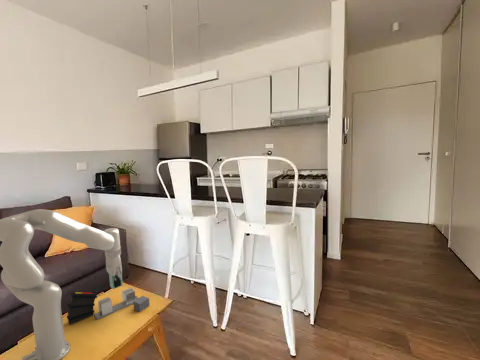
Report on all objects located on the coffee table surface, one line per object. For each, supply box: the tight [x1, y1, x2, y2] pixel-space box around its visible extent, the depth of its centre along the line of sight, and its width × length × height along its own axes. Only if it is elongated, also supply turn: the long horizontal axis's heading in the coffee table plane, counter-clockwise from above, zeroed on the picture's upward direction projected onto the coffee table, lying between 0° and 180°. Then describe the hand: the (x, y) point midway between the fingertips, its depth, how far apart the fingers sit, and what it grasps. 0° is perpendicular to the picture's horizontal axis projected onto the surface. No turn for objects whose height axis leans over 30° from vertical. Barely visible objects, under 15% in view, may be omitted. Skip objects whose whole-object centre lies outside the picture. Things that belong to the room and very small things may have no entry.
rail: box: [93, 287, 139, 321], centre depth 137 cm, size 22×5×7 cm, turn 136°
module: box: [108, 272, 124, 290], centre depth 135 cm, size 5×4×7 cm
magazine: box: [66, 290, 98, 326], centre depth 129 cm, size 4×13×15 cm, turn 135°
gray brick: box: [133, 295, 150, 313], centre depth 137 cm, size 6×5×4 cm
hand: (116, 284), depth 136 cm, fingers closed on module, 4 cm apart
